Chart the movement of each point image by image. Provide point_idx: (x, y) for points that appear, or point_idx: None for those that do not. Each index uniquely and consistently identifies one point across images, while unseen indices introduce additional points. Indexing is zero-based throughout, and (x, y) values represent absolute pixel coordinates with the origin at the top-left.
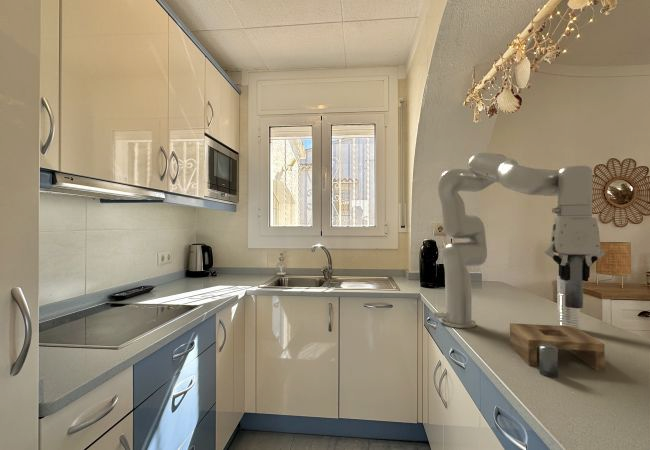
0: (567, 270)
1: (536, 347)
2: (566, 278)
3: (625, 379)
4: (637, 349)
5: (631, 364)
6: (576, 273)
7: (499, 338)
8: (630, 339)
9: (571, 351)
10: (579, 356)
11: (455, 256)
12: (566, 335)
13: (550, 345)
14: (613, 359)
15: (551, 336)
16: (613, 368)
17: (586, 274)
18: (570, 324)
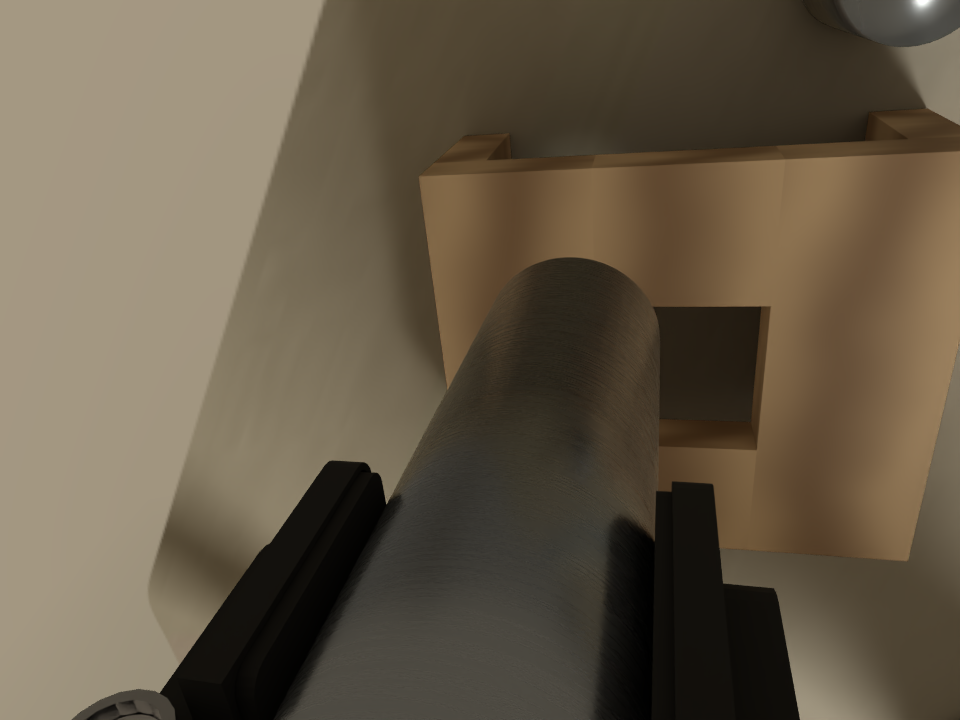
0: (681, 638)
1: (907, 140)
2: (695, 503)
3: (402, 25)
4: (205, 478)
5: (294, 274)
6: (500, 537)
7: (873, 562)
8: (195, 593)
9: None
10: None
11: None
12: None
13: (878, 17)
14: (354, 328)
15: (733, 284)
16: (402, 191)
17: (305, 536)
18: None
